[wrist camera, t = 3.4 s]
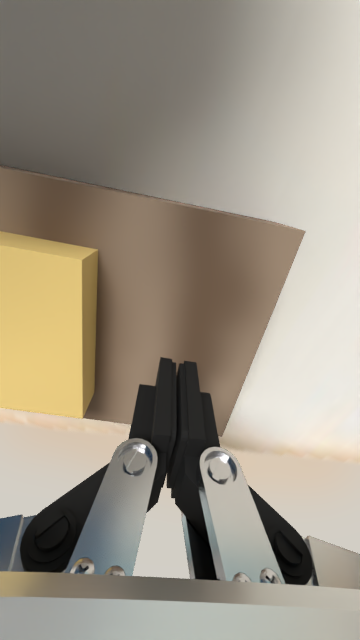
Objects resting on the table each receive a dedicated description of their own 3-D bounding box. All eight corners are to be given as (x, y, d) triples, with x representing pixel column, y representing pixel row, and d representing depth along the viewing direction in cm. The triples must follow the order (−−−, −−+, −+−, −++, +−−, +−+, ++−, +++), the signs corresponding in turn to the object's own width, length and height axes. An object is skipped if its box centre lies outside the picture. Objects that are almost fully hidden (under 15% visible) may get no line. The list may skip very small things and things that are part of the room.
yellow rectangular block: (98, 249, 11) (81, 259, 9) (94, 392, 15) (82, 418, 13) (-40, 223, 11) (-85, 229, 9) (-5, 378, 15) (-31, 403, 13)
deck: (274, 222, 14) (305, 231, 11) (215, 394, 20) (221, 436, 17) (-88, 146, 13) (-195, 127, 9) (-30, 358, 19) (-79, 396, 15)
